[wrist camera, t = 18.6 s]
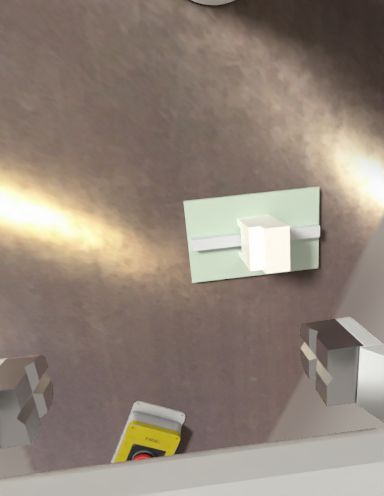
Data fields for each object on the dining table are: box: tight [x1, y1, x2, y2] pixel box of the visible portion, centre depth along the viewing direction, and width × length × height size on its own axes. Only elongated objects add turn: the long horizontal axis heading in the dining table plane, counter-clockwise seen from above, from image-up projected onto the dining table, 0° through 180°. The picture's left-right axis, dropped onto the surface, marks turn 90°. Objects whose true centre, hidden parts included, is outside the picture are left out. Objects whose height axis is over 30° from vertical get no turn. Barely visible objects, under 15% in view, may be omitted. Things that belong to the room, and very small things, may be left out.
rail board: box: [183, 187, 320, 283], centre depth 43 cm, size 19×12×2 cm, turn 96°
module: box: [237, 215, 290, 274], centre depth 39 cm, size 5×6×8 cm
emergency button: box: [111, 401, 185, 463], centre depth 51 cm, size 9×4×15 cm
